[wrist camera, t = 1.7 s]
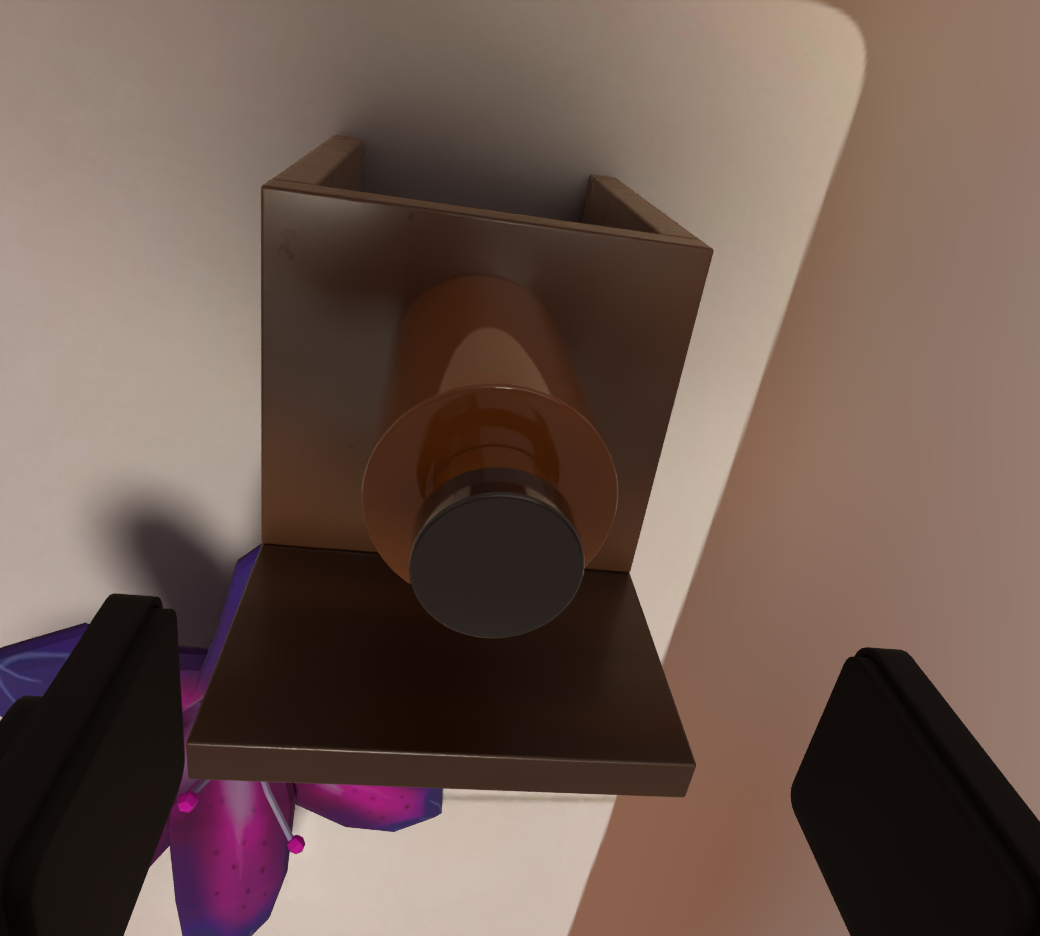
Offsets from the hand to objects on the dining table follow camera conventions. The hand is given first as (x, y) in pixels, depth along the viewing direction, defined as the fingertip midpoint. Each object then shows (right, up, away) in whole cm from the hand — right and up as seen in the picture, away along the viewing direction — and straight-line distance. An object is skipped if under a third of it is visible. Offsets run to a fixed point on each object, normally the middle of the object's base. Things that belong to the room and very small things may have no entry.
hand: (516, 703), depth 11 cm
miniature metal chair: (-3, +11, +25) cm, 27 cm away
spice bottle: (-1, +6, +11) cm, 13 cm away
